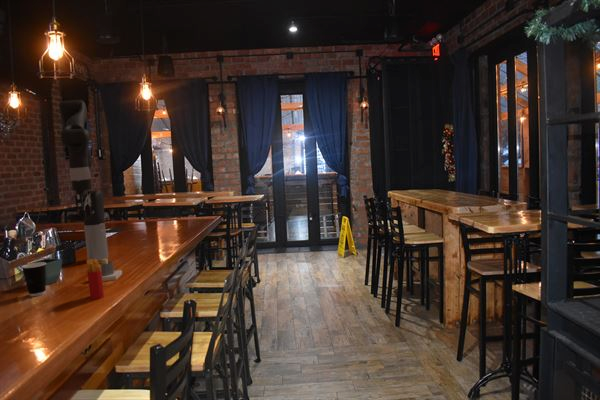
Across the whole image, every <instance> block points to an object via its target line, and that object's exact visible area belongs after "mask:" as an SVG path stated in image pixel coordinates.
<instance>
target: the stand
mask: <svg viewBox="0 0 600 400" xmlns="http://www.w3.org/2000/svg"><path fill="white" fill-rule="evenodd" d="M108 261H109V258H108V259H101V261H100V262H101V264H108ZM122 275H123V271H122V269H118V270H114V274H111V275H107V276H102V280H103V282H105V281H107V282H108V281H115V280H118V278H120V276H122Z"/></svg>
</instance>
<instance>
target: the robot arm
mask: <svg viewBox="0 0 600 400" xmlns="http://www.w3.org/2000/svg"><path fill="white" fill-rule="evenodd" d="M58 104H59V105H58V108H59V113H60V117H61V121H62V125H63V129H62V131H61V133H60V142H61V144H62V145H63V146H64V147H66V148H67V149H68V165H69V175H70V176H69V177H70V183H71V184H70V185H71V191H72V192H75V195H74V199H75V206H76V208H75V209H76V210H77V211H78V215H79V219H80V221H83V228H84V237H85V244H86V253H87V254H86V255H87V260H90V259H93V258H94V259H97V260H98V262H101V259H108V260H109V250H108V240H107V232H106V231H107V230H106V223H105V203H104V195H103V193H102V191H101V190H99V189H95V190H94V189H93V185H92V177H91V169H92V166H93V157H92V152H91V148H90V146H89V145H90V139H91V136H90V132H89V131H88V130H87V129H86V128H85V123H86V122H87V119H88V110H87V104H86V103H85V102H84V100H83V99H75V100H73V99H72V100H62V101H60V102H59V103H58ZM92 189H93V190H92ZM92 211H93V213H92Z"/></svg>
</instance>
